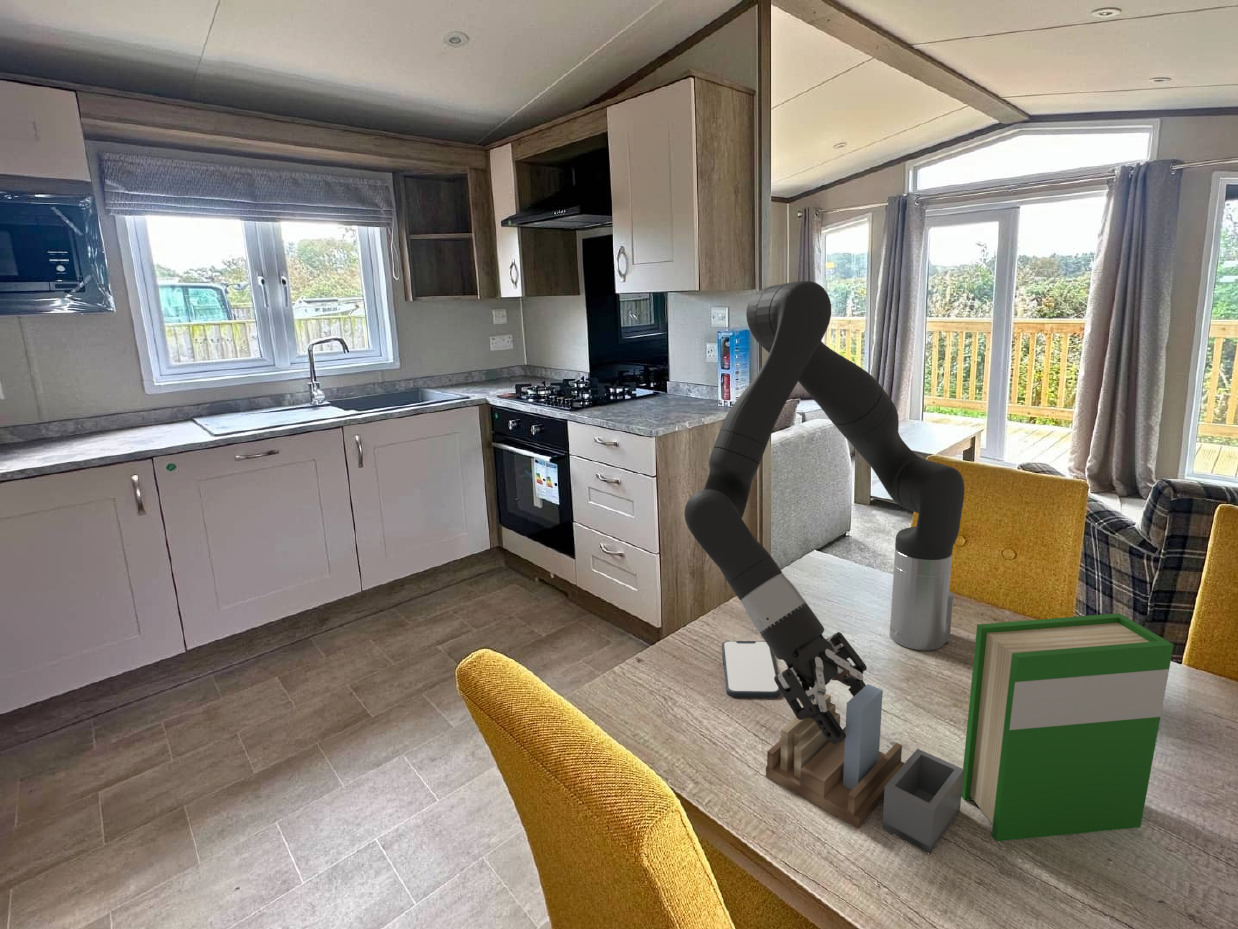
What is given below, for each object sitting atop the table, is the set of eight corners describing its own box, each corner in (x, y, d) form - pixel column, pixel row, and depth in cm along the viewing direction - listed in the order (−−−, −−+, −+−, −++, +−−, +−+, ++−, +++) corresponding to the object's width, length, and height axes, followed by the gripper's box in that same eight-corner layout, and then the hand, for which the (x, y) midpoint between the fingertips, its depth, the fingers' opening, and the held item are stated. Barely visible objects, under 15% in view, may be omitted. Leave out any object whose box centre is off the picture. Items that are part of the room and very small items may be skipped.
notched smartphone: (782, 702, 107) (770, 648, 122) (782, 693, 106) (770, 640, 122) (726, 701, 108) (721, 647, 123) (726, 692, 107) (721, 640, 122)
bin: (882, 828, 80) (884, 786, 79) (914, 788, 86) (917, 748, 85) (929, 854, 76) (933, 810, 75) (959, 810, 82) (964, 769, 81)
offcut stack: (780, 768, 89) (781, 729, 87) (823, 729, 96) (824, 693, 95) (800, 779, 87) (801, 739, 85) (842, 738, 94) (844, 701, 93)
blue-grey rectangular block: (842, 785, 85) (846, 703, 82) (863, 763, 89) (867, 684, 86) (857, 793, 84) (862, 709, 81) (877, 770, 88) (882, 690, 85)
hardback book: (996, 841, 78) (1017, 657, 72) (960, 795, 85) (977, 624, 79) (1140, 827, 79) (1173, 644, 73) (1092, 783, 86) (1119, 613, 80)
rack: (765, 776, 90) (766, 750, 89) (816, 730, 98) (817, 706, 97) (858, 828, 80) (860, 800, 79) (905, 773, 89) (907, 747, 88)
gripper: (768, 623, 83) (850, 743, 78) (826, 586, 93) (903, 691, 87) (733, 646, 88) (808, 761, 83) (792, 609, 98) (863, 710, 92)
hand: (857, 725), depth 85 cm, fingers open, 8 cm apart
